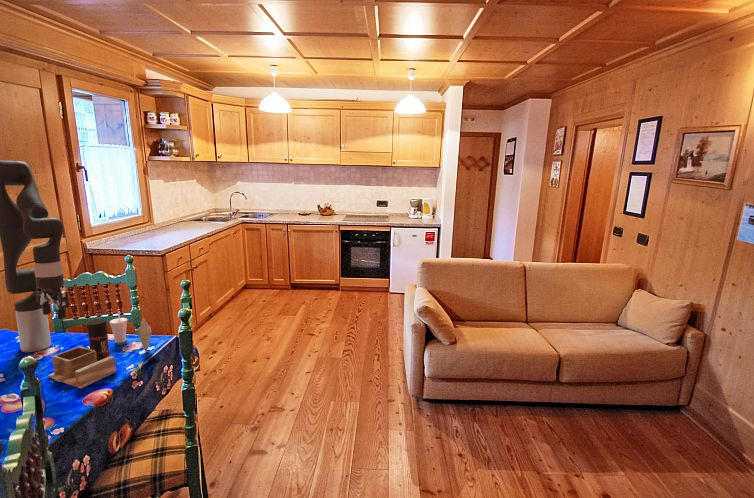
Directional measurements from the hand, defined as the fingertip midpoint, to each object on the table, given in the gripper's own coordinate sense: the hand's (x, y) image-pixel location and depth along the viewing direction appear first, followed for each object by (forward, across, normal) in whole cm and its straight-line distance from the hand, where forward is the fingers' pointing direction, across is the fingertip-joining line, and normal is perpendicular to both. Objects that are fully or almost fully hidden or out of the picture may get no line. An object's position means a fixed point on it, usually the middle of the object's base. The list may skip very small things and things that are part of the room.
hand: (54, 316), depth 135 cm
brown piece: (+20, +14, 0) cm, 24 cm away
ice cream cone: (+20, +17, +22) cm, 34 cm away
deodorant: (+20, +6, +10) cm, 23 cm away
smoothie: (+20, -1, +24) cm, 31 cm away
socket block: (+19, +10, 0) cm, 21 cm away
